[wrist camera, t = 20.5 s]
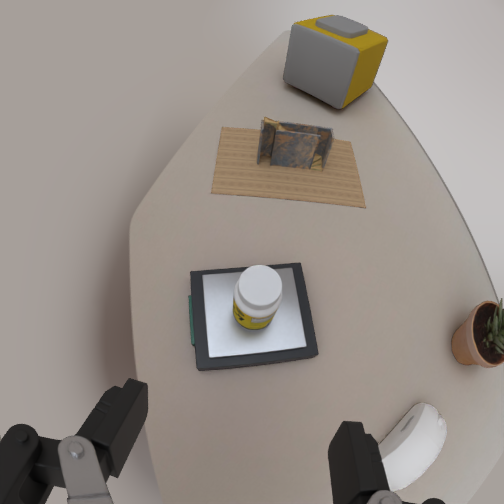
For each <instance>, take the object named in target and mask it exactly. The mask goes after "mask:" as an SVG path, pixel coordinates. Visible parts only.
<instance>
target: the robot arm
mask: <svg viewBox="0 0 504 504" xmlns="http://www.w3.org/2000/svg"><path fill="white" fill-rule="evenodd" d="M147 413H148V385H147V383H143V382H140V381H137V380H134V379H131V378H129V379H128V380H127V382H126V383H125V385H124V386H123V388H120V387H117V386H114V387H112V388H111V389H109V390H107V391H106V392H105V393H104V394H103V396H102V397H101V399H100V400H99V402H98V403H97V404H96V406H95V408H94V409H93V410H92V412H91V413H90V415H89V416H88V418H87V419H86V421H85V422H84V424H83V425H82V427H81V428H80V429H79V431H78V432H77V434H76V435H74V436H69V437H66V438H64V439H63V440H55V439H50V438H45V437H40V436H38V434H37V432H36V431H35V429H34V428H32V427H31V426H29V425H26V424H17V425H14V426H12V427H11V428H10V429H9V430H8V431H7V433H6V434H5V435H4V437H3V438H2V439H1V441H0V504H45V503H46V501H47V498H48V497H49V495H50V493H51V491H52V489H53V487H54V486H57V487H62V488H66V489H67V493H68V498H67V502H68V504H113V501H112V498H111V496H110V493H109V491H108V488H107V485H106V482H107V480H108V478H109V476H110V475H111V476H114V477H116V478H118V477H119V475H120V472H121V470H122V468H123V466H124V464H125V462H126V460H127V457H128V456H129V453H130V451H131V449H132V447H133V445H134V443H135V441H136V439H137V437H138V434H139V433H140V431H141V429H142V426H143V424H144V422H145V420H146V417H147ZM328 460H329V468H330V477H331V486H332V495H333V504H415V503H409V502H404V501H401V499H400V497H399V496H398V495H397V494H396V493H394V492H392V491H390V488H389V484H388V481H387V477H386V473H385V469H384V465H383V462H382V458H381V454H380V451H379V447H378V443H377V442H376V440H375V439H374V438H373V437H372V435H371V434H365V431H364V428H363V424H362V423H361V422H352V421H343V422H342V423H341V425H340V427H339V429H338V430H337V432H336V434H335V436H334V437H333V439H332V441H331V443H330V445H329V449H328ZM422 504H445V503H444V502H443V501H442V500H440V499H437V498H430V499H427V500H426V501H424V502H423V503H422Z"/></svg>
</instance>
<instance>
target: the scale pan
mask: <svg viewBox="0 0 504 504" xmlns="http://www.w3.org/2000/svg"><path fill="white" fill-rule="evenodd" d="M274 270H275V271H276V272H277V273H278V275H279V276H280V278H281V281H282V300H281V304H280V306H279V308H278V310H277V312H276V314H275V315H274V317H273V319H272V321H271V323H270V324H269V325H268V326H267V327H265V328H263V329H261V330H257V331H251V330H247V329H244V328H243V327H241V326H240V325H239V324H238V323H237V322H236V320H235V318H234V315H233V296H234V288H235V285H236V283H237V281H238V280H239V278H240V276H241V274H242V273H243V272H235V273H222V274H209V275H202V279H203V293H204V307H205V320H206V332H207V343H208V354H209V359H213V358H225V357H236V356H246V355H255V354H264V353H272V352H280V351H287V350H294V349H301V348H305V347H307V345H306V339H305V334H304V328H303V323H302V317H301V312H300V306H299V301H298V296H297V291H296V285H295V280H294V275H293V270H292V268H283V269H274Z"/></svg>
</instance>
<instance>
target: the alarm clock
mask: <svg viewBox="0 0 504 504" xmlns="http://www.w3.org/2000/svg"><path fill="white" fill-rule="evenodd" d="M387 43H388V40H387V37H385V36H383V35H380V34H378V33H376V32H374V31H372V30H369V29H368V27H367V26H365V25H363V24H361V23H358V22H356V21H353V20H351V19H348V18H346V17H343V16H338V15H336V16H335V15H329V16H323V17H318V18H313V19H308V20H304V21H300V22H296V23H294V24H293V25H292V28H291V34H290V40H289V46H288V52H287V57H286V63H285V69H284V75H283V80H284V81H285V82H286V83H288V84H290V85H292V86H294V87H295V88H299V89H301V90H303V91H305V92H307V93H309V94H311V95H313V96H315V97H316V98H318V99H320V100H322V101H324V102H326V103H328V104H330V105H331V106H333V108H337V109H342V108H344V107H345V106H346V105H348V104H349V103H350V102H352V101H353V100H354V99H356V98H357V97H358V96H360V95H361V94H362V93H364V92H365V91H366V90H368V89H369V88H370V87H371V86H372V84H373V82H374V79H375V76H376V74H377V71H378V68H379V66H380V63H381V60H382V57H383V55H384V52H385V49H386V46H387Z"/></svg>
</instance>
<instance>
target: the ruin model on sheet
mask: <svg viewBox="0 0 504 504" xmlns="http://www.w3.org/2000/svg"><path fill="white" fill-rule="evenodd" d="M211 193H214V194H229V195H243V196H256V197H268V198H279V199H290V200H301V201H310V202H320V203H329V204H338V205H346V206H354V207H362V208H366V206H365V201H364V196H363V191H362V187H361V182H360V178H359V174H358V169H357V165H356V161H355V157H354V153H353V149H352V146H351V142H349V141H343V140H337V139H335V138H334V134H333V129H332V128H326V127H319V126H312V125H305V124H298V123H289V122H281V121H274V120H271V119H269V118H267V117H264V120H262V122H261V130H256V129H244V128H229V127H222V130H221V136H220V141H219V147H218V153H217V159H216V165H215V172H214V178H213V184H212V191H211Z"/></svg>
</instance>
